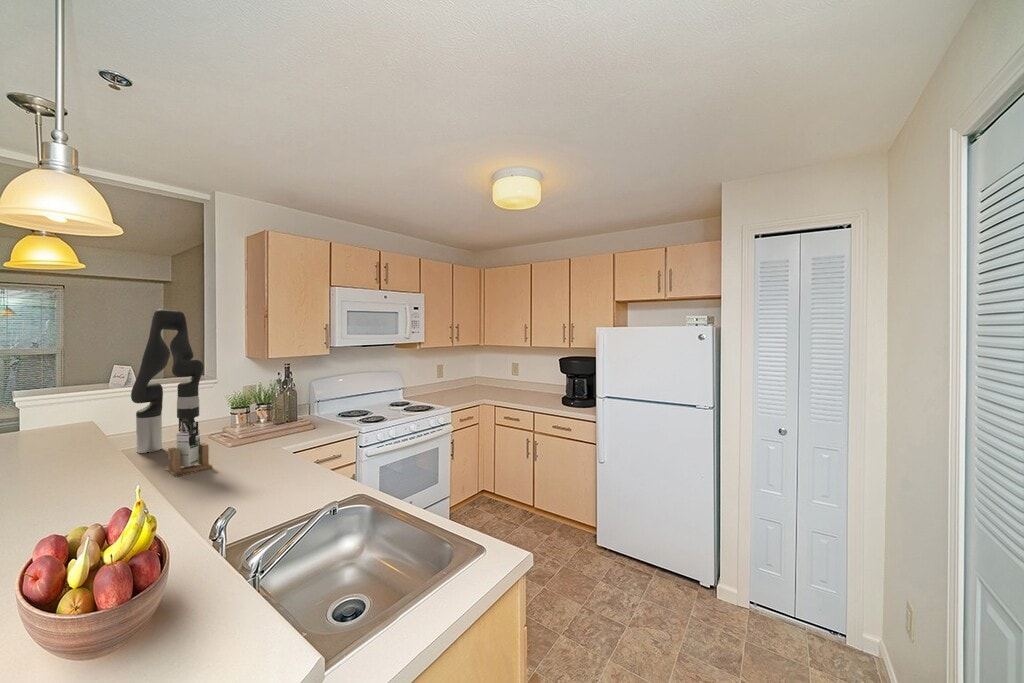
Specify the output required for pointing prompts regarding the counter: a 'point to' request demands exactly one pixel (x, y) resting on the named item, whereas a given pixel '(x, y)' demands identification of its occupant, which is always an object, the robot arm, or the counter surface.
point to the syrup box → (188, 449)
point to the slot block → (178, 470)
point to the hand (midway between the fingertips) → (188, 443)
